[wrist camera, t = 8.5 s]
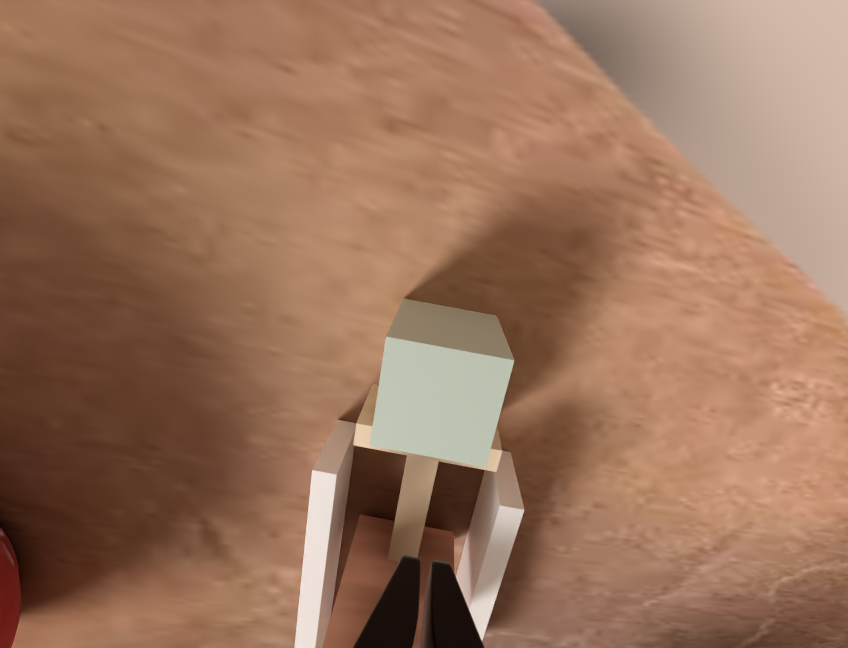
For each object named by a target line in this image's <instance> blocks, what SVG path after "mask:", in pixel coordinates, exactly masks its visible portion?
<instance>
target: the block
mask: <svg viewBox="0 0 848 648" xmlns="http://www.w3.org/2000/svg"><path fill="white" fill-rule="evenodd" d="M513 364H514V358H513V355H512V353H511V350H510V348H509V345H508V343H507V340H506V338H505V335H504V333H503V330H502V327H501V325H500V322H499V320H498V317H497V315H491V314H486V313H480V312H475V311H469V310H464V309H459V308H453V307H448V306H442V305H437V304H432V303H426V302H421V301H415V300H410V299H405V298H404V299H403V301H402V303H401V305H400V307H399V310H398V312H397V314H396V316H395V318H394V321H393V323H392V325H391V327H390V329H389V331H388V334H387V336H386V341H385V348H384V354H383V361H382V367H381V374H380V380H379V387H378V394H377V400H376V407H375V413H374V420H373V426H372V433H371V440H370V446H375V447H380V448H386V449H391V450H396V451H402V452H407V453H412V454H418V455H423V456H428V457H434V458H439V459H444V460H450V461H455V462H460V463H466V464H471V465H477V466H482V467H486V464H487V460H488V457H489V453H490V449H491V446H492V442H493V438H494V435H495V431H496V427H497V423H498V420H499V416H500V412H501V409H502V405H503V401H504V397H505V394H506V390H507V386H508V383H509V379H510V375H511V372H512V368H513Z"/></svg>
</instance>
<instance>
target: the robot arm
mask: <svg viewBox="0 0 848 648" xmlns="http://www.w3.org/2000/svg"><path fill="white" fill-rule="evenodd" d="M420 574H421V559H420V558H419V557H415V556H409V555H404V556H403V557H402V558H401V560H400V561H399V563H398V565H397V567H396V569H395V571H394V573H393V574H392V576H391V578H390V580H389V582H388V584H387V585H386V587H385V589H384V591H383V593H382V595H381V597H380V598H379V600H378V602H377V604H376V606H375V608H374V610H373V611H372V613H371V615H370V617H369V619H368V621H367V622H366V624H365V626H364V628H363V630H362V632H361V634H360V635H359V637H358V639H357V641H356V643H355V645H354V646H353V648H412V647H413V642H414V637H415V632H416V627H417V621H418V612H419V595H420ZM419 648H484V645H483V643H482V640H481V638H480V635H479V633H478V630H477V628H476V625H475V623H474V621H473V618H472V616H471V613H470V611H469V608H468V606H467V603H466V601H465V598H464V596H463V593H462V591H461V588H460V586H459V584H458V581H457V579H456V576H455V574H454V571H453V569H452V566H451V565H450V564H449V563H448V562H444V561H438V560H433V561H432V562H431V565H430V569H429V574H428V578H427V583H426V588H425V594H424V604H423V615H422V626H421V637H420V647H419Z"/></svg>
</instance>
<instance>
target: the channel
mask: <svg viewBox="0 0 848 648" xmlns="http://www.w3.org/2000/svg"><path fill="white" fill-rule="evenodd" d="M355 429H356V423H352V422H347V421H342V420H337V422H336V424H335V426H334V428H333V430H332V432H331V434H330V436H329V438H328V440H327V442H326V444H325V446H324V448H323V450H322V452H321V454H320V456H319V458H318V460H317V462H316V464H315V466H314V468H313V470H312V478H311V488H310V498H309V508H308V518H307V528H306V538H305V548H304V558H303V568H302V578H301V588H300V598H299V608H298V618H297V628H296V638H295V648H322V646H323V643H324V639H325V636H326V632H327V629H328V625H329V622H330V618H331V612H332V605H333V598H334V591H335V583H336V576H337V569H338V562H339V554H340V547H341V540H342V533H343V526H344V518H345V511H346V504H347V497H348V489H349V482H350V475H351V468H352V460H353V453H354V445H353V444H354V437H355ZM523 513H524V506H523V502H522V498H521V494H520V489H519V485H518V481H517V477H516V473H515V469H514V464H513V460H512V456H511V452H507V451H502V454H501V457H500V461H499V465H498V468H497V472H493V471H488V470H485V471H484V475H483V478H482V482H481V486H480V489H479V493H478V497H477V501H476V504H475V508H474V512H473V515H472V519H471V523H470V526H469V530H468V534H467V538H466V541H465V545H464V549H463V552H462V556H461V560H460V563H459V567H458V571H457V575H456V579H457V581H458V584H459V586H460V588H461V591H462V593H463V596H464V598H465V601H466V603H467V606H468V608H469V611H470V613H471V616H472V618H473V621H474V623H475V625H476V628H477V630H478V633H479V635H480V638H481V640H483V637H484V634H485V631H486V628H487V625H488V622H489V618H490V615H491V612H492V609H493V606H494V603H495V600H496V597H497V594H498V591H499V587H500V584H501V581H502V578H503V575H504V572H505V569H506V566H507V563H508V559H509V556H510V553H511V550H512V547H513V544H514V541H515V538H516V535H517V532H518V528H519V525H520V522H521V519H522V516H523Z"/></svg>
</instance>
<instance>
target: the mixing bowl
mask: <svg viewBox="0 0 848 648" xmlns="http://www.w3.org/2000/svg"><path fill="white" fill-rule="evenodd" d="M20 612H21V589H20V580H19V572H18V562H17V559H16V555H15V552H14V549H13V547H12V545H11V543H10V541H9V539H8V537H7V536H6V534H5V533H4V531H3V530H2V529H1V527H0V648H11V647H12V644H13V641H14V638H15V634H16V630H17V626H18V622H19V617H20Z"/></svg>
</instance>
